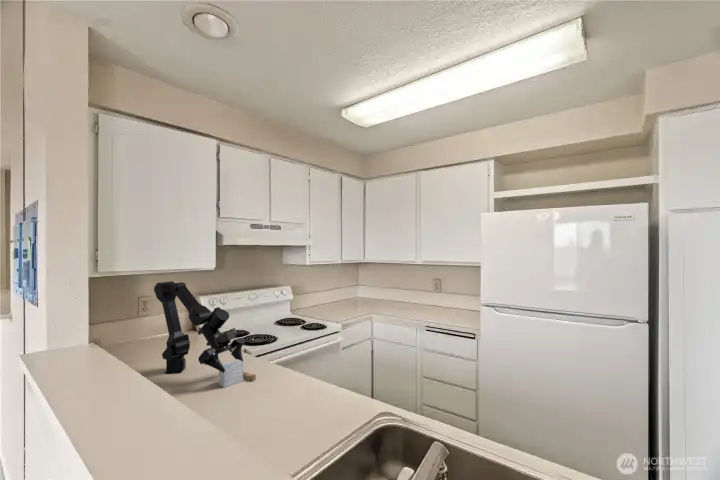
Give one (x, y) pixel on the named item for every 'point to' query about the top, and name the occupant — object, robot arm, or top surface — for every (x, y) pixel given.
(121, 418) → the top surface
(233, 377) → the medicine box
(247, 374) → the walnut tipping strip
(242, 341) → the robot arm
